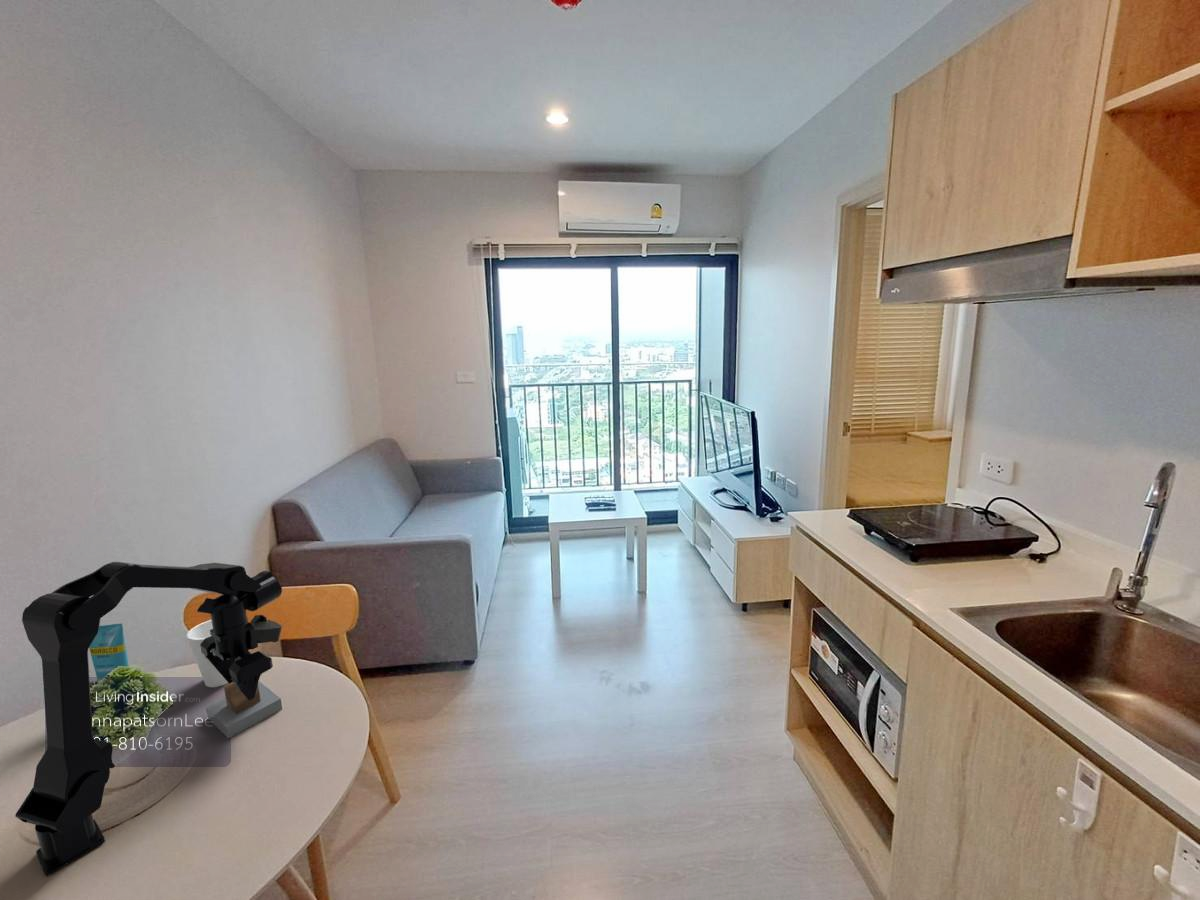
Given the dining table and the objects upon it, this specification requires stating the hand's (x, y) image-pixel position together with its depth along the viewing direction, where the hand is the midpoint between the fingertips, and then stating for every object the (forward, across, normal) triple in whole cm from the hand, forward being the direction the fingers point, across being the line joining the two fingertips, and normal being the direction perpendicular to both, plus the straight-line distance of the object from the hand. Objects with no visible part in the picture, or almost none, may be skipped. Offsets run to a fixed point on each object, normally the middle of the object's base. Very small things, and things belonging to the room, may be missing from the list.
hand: (241, 690), depth 105 cm
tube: (+6, +26, +14) cm, 30 cm away
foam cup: (+6, +18, -2) cm, 19 cm away
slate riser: (+6, 0, 0) cm, 6 cm away
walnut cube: (+3, 0, 0) cm, 3 cm away
